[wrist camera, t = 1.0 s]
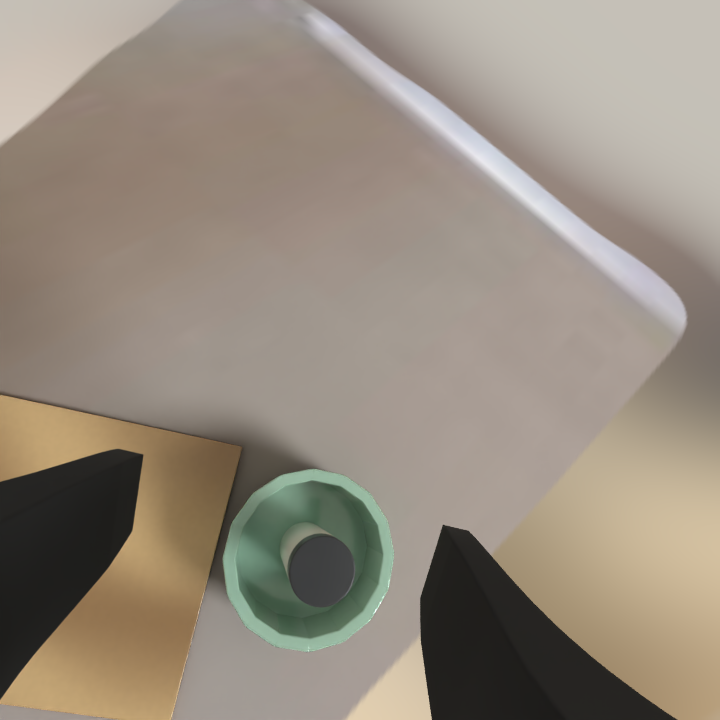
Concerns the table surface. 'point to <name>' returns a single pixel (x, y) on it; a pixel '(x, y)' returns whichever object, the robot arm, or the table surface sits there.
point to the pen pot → (267, 572)
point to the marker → (317, 564)
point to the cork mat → (125, 564)
